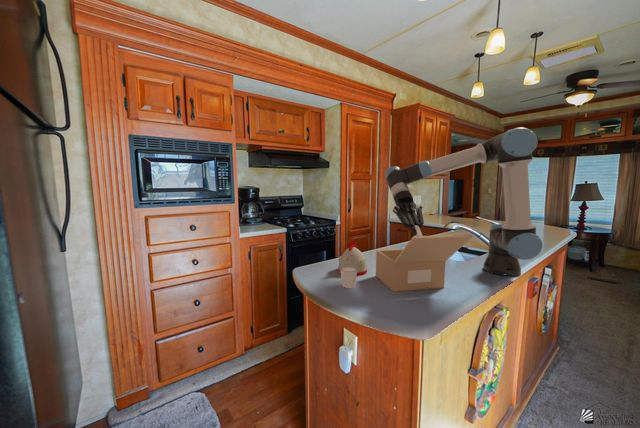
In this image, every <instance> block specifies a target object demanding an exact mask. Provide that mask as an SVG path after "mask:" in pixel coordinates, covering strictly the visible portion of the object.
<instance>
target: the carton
mask: <svg viewBox="0 0 640 428" xmlns="http://www.w3.org/2000/svg"><path fill="white" fill-rule="evenodd" d="M403 249H404V248H402V249H401V248H400V249H381V250H376V251H375V255H376V256H375V277H376V278H377V279H378V280H379V281H380V282H382V283H383V284H384V285H385V286H386V287H387V289H389V290H391V291H392V293H393V292H407V291H421V290H435V289H444V288H445V276H446V274H445V273H446V260H444V261H425V262H405V263H395V262H394V261H395V260H396V258H397V257H398V256H399V254H400V253H401V252H402V250H403Z"/></svg>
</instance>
